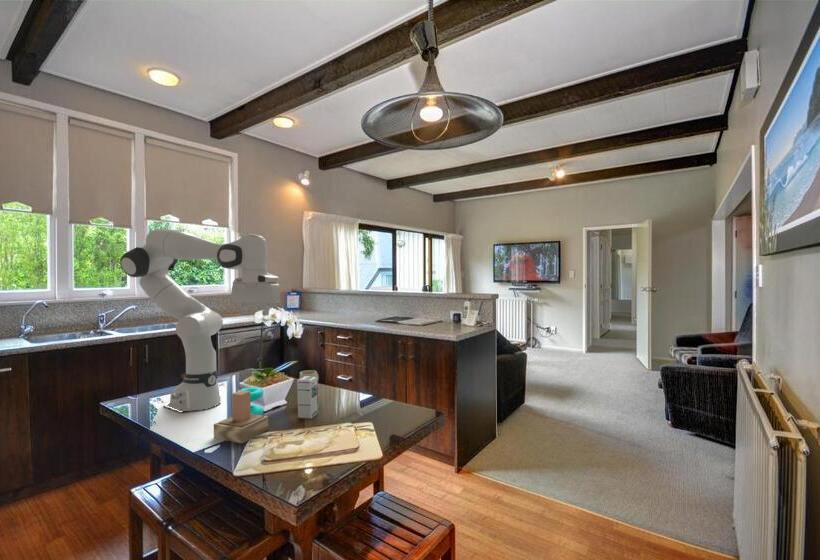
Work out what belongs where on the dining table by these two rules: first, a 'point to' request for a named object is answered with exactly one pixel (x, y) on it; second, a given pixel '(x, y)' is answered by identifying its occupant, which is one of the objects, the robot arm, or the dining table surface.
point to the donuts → (254, 395)
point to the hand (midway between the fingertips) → (255, 315)
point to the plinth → (241, 428)
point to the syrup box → (307, 397)
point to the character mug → (308, 374)
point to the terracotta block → (241, 406)
